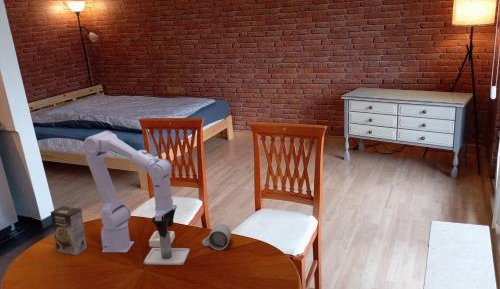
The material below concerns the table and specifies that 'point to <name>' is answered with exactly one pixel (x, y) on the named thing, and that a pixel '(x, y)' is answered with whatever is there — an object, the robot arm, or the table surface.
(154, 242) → the square socket block
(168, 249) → the steel pin
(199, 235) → the table surface
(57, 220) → the coffee box
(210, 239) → the ceramic mug
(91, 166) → the robot arm
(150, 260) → the tray
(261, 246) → the table surface
